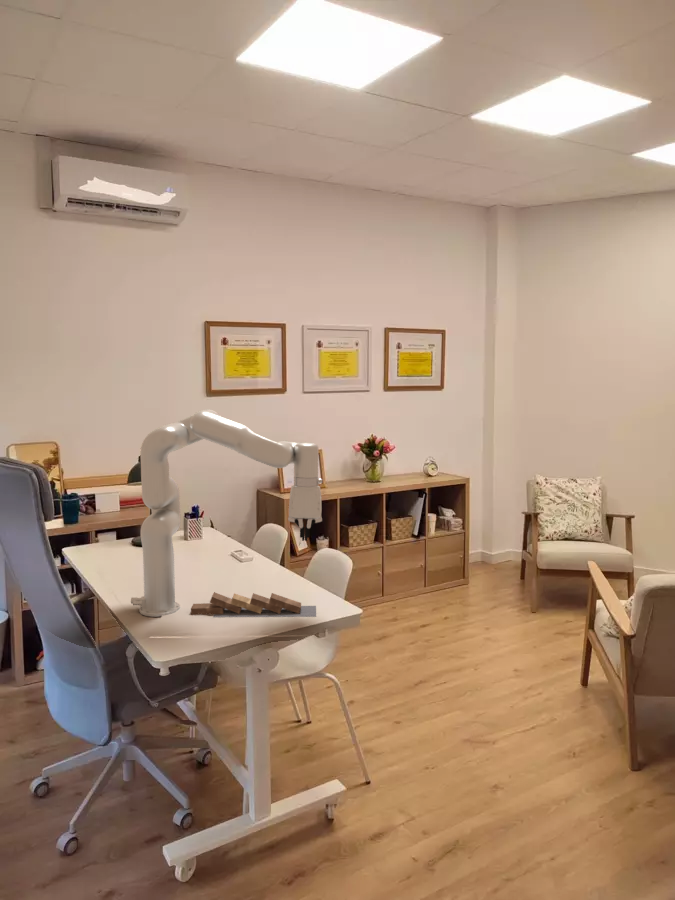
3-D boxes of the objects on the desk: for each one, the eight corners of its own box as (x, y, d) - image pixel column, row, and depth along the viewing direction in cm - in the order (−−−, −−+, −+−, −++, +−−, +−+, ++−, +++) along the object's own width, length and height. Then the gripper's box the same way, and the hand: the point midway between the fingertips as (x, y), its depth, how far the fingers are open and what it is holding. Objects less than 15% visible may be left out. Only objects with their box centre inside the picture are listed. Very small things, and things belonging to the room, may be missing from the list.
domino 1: (223, 613, 216) (191, 614, 216) (225, 608, 221) (193, 609, 221) (222, 607, 216) (190, 608, 216) (224, 602, 221) (193, 603, 220)
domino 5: (298, 613, 217) (268, 603, 217) (299, 608, 222) (269, 598, 221) (301, 607, 217) (271, 597, 216) (301, 602, 222) (271, 593, 221)
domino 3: (260, 613, 217) (230, 603, 216) (261, 608, 221) (232, 599, 221) (262, 608, 217) (232, 598, 216) (263, 603, 221) (234, 593, 220)
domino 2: (239, 613, 217) (209, 602, 216) (240, 608, 221) (211, 597, 220) (241, 608, 216) (211, 596, 216) (243, 603, 221) (214, 592, 220)
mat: (212, 618, 214) (212, 617, 214) (217, 607, 224) (217, 606, 224) (316, 617, 215) (316, 616, 215) (316, 606, 225) (316, 605, 225)
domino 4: (279, 613, 217) (249, 603, 216) (280, 608, 222) (251, 598, 221) (282, 607, 217) (251, 597, 216) (282, 603, 221) (253, 593, 221)
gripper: (329, 480, 219) (328, 537, 221) (282, 479, 218) (281, 536, 220) (330, 484, 212) (328, 543, 214) (281, 483, 211) (280, 542, 213)
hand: (304, 539), depth 217 cm, fingers closed
